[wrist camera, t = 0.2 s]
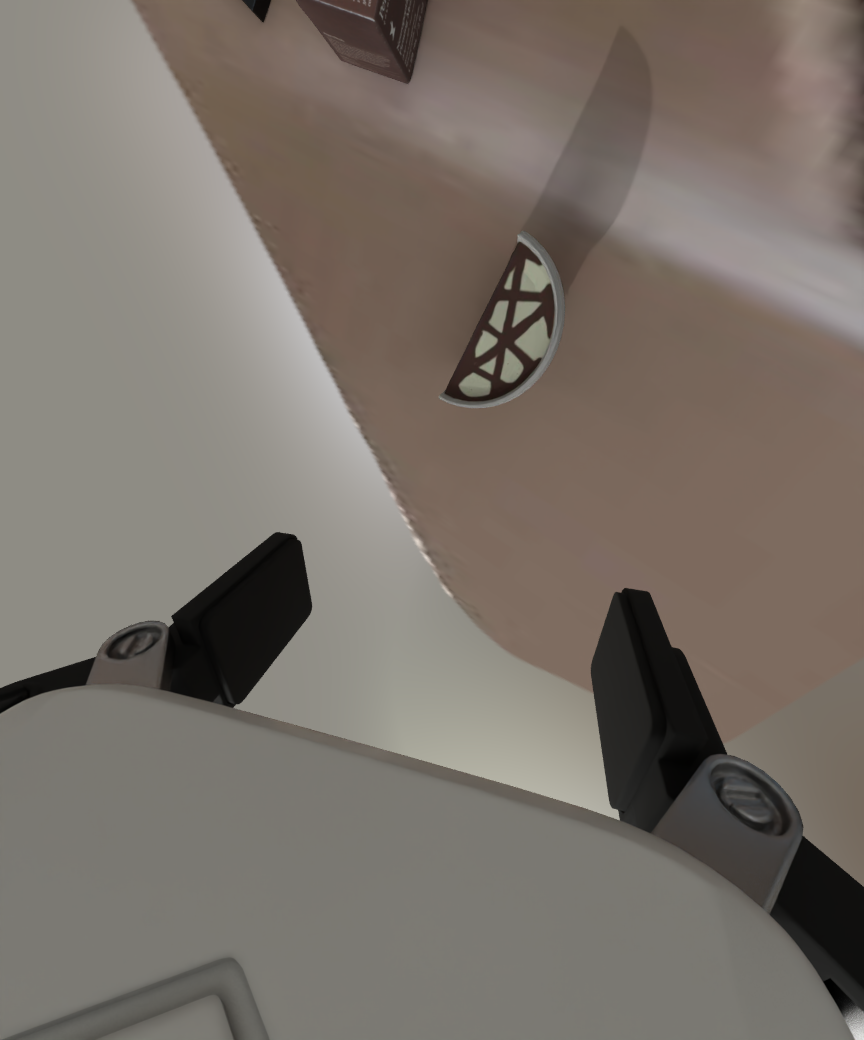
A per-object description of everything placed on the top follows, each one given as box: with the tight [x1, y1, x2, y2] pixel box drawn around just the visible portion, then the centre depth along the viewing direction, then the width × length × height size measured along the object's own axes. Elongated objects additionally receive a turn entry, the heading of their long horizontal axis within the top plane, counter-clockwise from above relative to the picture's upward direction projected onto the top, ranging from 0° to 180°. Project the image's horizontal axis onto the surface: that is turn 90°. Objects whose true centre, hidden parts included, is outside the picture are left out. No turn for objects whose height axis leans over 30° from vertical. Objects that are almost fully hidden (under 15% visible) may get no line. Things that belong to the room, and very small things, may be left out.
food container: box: [439, 231, 565, 408], centre depth 31 cm, size 12×6×10 cm, turn 153°
